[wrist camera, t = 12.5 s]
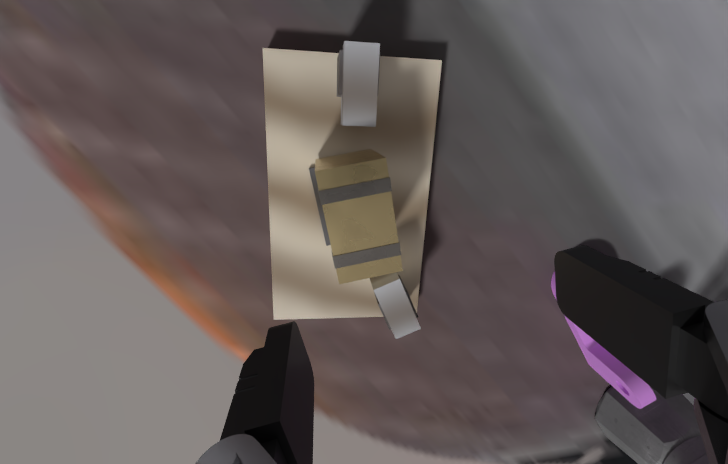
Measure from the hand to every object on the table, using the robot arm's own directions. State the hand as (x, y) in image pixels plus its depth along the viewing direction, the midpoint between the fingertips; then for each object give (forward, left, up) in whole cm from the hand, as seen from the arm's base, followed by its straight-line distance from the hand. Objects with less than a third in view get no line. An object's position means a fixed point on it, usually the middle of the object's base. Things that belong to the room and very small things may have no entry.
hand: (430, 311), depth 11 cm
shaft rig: (+1, -1, -18) cm, 18 cm away
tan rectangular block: (0, -1, -16) cm, 16 cm away
